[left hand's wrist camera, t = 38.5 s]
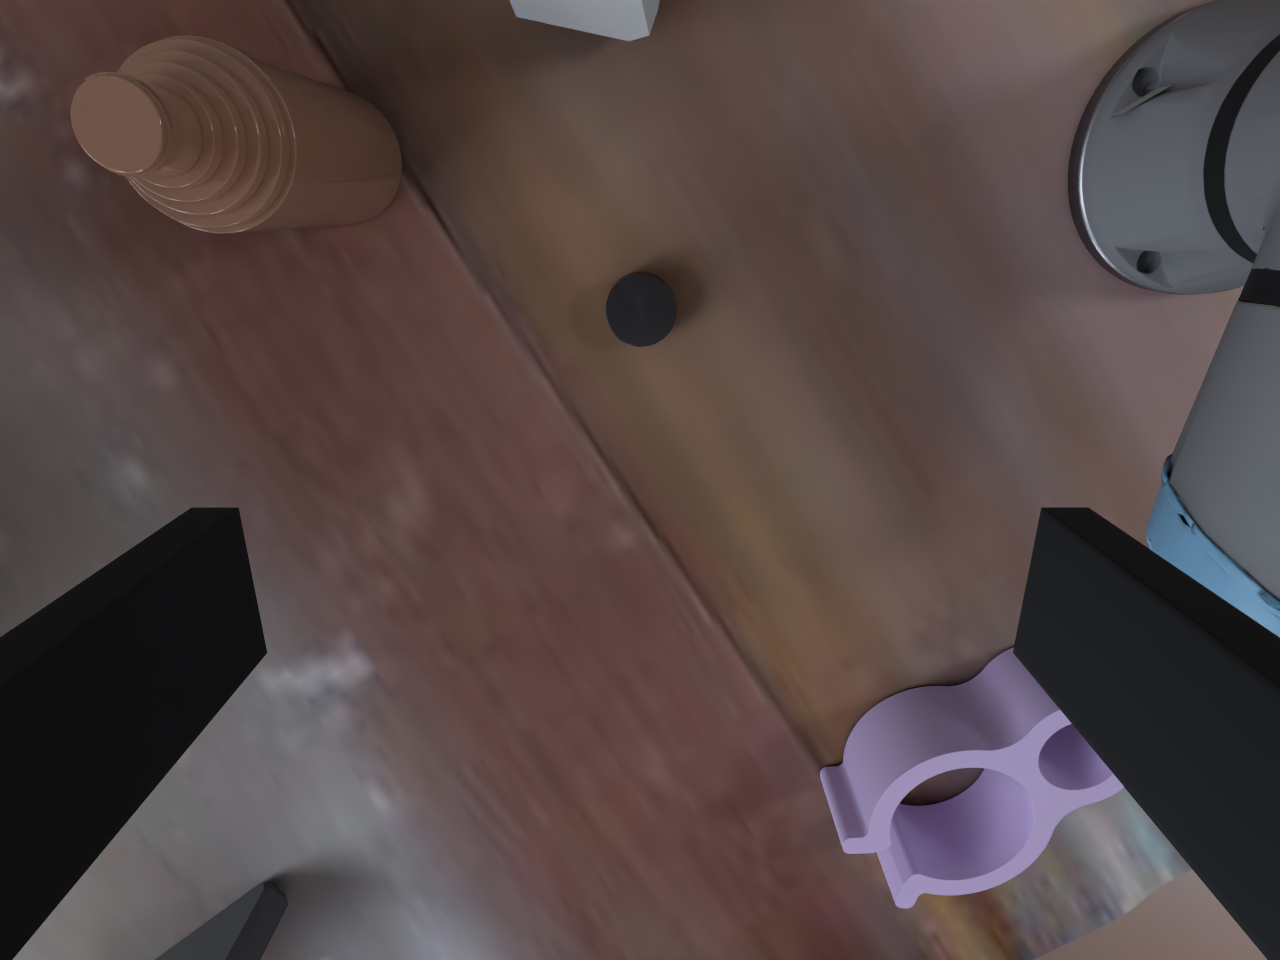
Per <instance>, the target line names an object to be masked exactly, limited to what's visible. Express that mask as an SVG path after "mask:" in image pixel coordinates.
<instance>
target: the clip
mask: <svg viewBox="0 0 1280 960" xmlns="http://www.w3.org/2000/svg"><path fill="white" fill-rule="evenodd" d="M1013 650H1014V647H1013V648H1011V649H1009V650H1007V651H1005V652H1003V653H1001V654H1000V655H998V656H997V657H996V658H994V659H993V660H992V661H991V662H990V663H989V664H988V665H987V666H986V667H985V668H984V669H983V670H982V672H981V673H979V674H978V675H977V676H976V677H975V678H973V679H971V680H970V681H968V682H966V683H963V684H960V685H956V686H926V687H919V688H914V689H910V690H906V691H903V692H900V693H898V694H895V695H893V696H891V697H889V698H887V699H885V700H883V701H882V702H880V703H879V704H877V705H876V706H874V707H873V708H872V709H870V710H869V711H868V712H867V713H866V714H865V715H864V716H863V717H862V718H861V719H860V720H859V722H858V723H857V724H856V726H855V727H854V728H853V730H852V732H851V734H850V736H849V738H848V740H847V743H846V746H845V750H844V756H843V763H842V764H841V765H839V766H832V767H824V768H823V769H822V770H821V771H820V778H821V781H822V784H823V787H824V791H825V794H826V797H827V800H828V803H829V806H830V810H831V813H832V816H833V819H834V822H835V826H836V829H837V832H838V835H839V838H840V841H841V845H842V848H843V851H844V852H845V853H848V854H858V853H875V852H877V854H878V857H879V860H880V863H881V865H882V868H883V871H884V874H885V876H886V879H887V882H888V885H889V887H890V890H891V893H892V896H893V898H894V901H895V904H896V906H898V907H900V908H910V907H912V906H913V905H914V904H915V902H916V899H917V897H918V896H919V895H920V894H923V893H929V894H936V895H963V894H970V893H975V892H979V891H983V890H986V889H989V888H992V887H995V886H997V885H1000V884H1002V883H1004V882H1006V881H1008V880H1010V879H1012V878H1013V877H1015V876H1016V875H1018V874H1019V873H1021V872H1022V871H1023V870H1025V869H1026V868H1027V867H1028V866H1029V865H1031V864H1032V863H1033V862H1034V861H1035V860H1036V859H1037V857H1038V856H1039V855H1040V854H1041V853H1042V851H1043V850H1044V848H1045V847H1046V845H1047V844H1048V842H1049V840H1050V838H1051V835H1052V833H1053V830H1054V828H1055V827H1056V825H1057V824H1058V822H1059V821H1060V820H1061V819H1062V818H1063V817H1064V816H1065V815H1067V814H1068V813H1070V812H1071V811H1073V810H1075V809H1077V808H1079V807H1082V806H1085V805H1088V804H1092V803H1096V802H1099V801H1101V800H1104V799H1106V798H1108V797H1110V796H1112V795H1114V794H1115V793H1117V792H1118V791H1120V790H1121V789H1123V788H1124V786H1123V785H1122V784H1121V782H1120V781H1119V780H1118V779H1117V778H1116V776H1115V775H1114V774H1113V773H1112V772H1111V770H1110V769H1109V768H1108V767H1107V766H1106V764H1105V763H1104V762H1103V761H1102V760H1101V758H1100V757H1099V756H1098V755H1097V753H1096V752H1095V751H1094V750H1093V749H1092V747H1091V746H1090V745H1089V744H1088V743H1087V741H1086V740H1085V739H1084V738H1083V737H1082V735H1081V734H1080V733H1079V732H1078V731H1077V729H1076V728H1075V727H1074V726H1073V725H1072V723H1071V722H1070V721H1069V720H1068V719H1067V717H1066V716H1065V715H1064V714H1063V713H1062V711H1061V710H1060V709H1059V708H1058V707H1057V705H1056V704H1055V703H1054V702H1053V700H1052V699H1051V698H1050V697H1049V696H1048V694H1047V693H1046V692H1045V691H1044V690H1043V688H1042V687H1041V686H1040V685H1039V684H1038V682H1037V681H1036V680H1035V679H1034V678H1033V676H1032V675H1031V674H1030V673H1029V672H1028V670H1027V669H1026V668H1025V667H1024V666H1023V664H1022V663H1021V662H1020V661H1019V660H1018V658H1017V657H1016V656H1015V655H1014V654H1013ZM960 768H985V769H984V771H983V772H982V774H981V775H980V777H979V778H978V779H977V780H976V782H975V783H974V784H973V785H971V786H970V787H969V788H968V789H967V790H965V791H964V792H962V793H961V794H959V795H957V796H956V797H954V798H951V799H949V800H947V801H944V802H941V803H937V804H932V805H925V806H910V805H903V804H899V803H900V802H901V800H902V799H903V798H904V797H905V796H906V795H907V794H908V793H909V792H910V791H911V790H912V789H913V788H914V787H916V786H917V785H919V784H920V783H922V782H923V781H925V780H927V779H929V778H930V777H933V776H935V775H937V774H940V773H943V772H946V771H950V770H954V769H960Z"/></svg>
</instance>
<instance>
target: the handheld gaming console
mask: <svg viewBox="0 0 1280 960" xmlns="http://www.w3.org/2000/svg"><path fill="white" fill-rule="evenodd" d="M287 905H288V902H287V898H286V895H285V893H284V892H282V891H281V890H280V889H279V888H277V887H276V886H275V885H273V884H272V883H271V882H269V883H262V884H261V885H259V886H258V887H256V888H254V889H253V890H251V891H250V892H248V893H247V894H246V895H244V896H243V897H242V898H240V899H239V900H237V901H236V902H235V903H233V904H232V905H231V906H229V907H228V908H226V909H225V910H224V911H222V912H221V913H220V914H218V915H217V916H215V917H214V918H213V919H211V920H210V921H209V922H207V923H206V924H204V925H203V926H202V927H200V928H199V929H198V930H196V931H195V932H193V933H192V934H191V935H189V936H188V937H187V938H185V939H184V940H182V941H181V942H180V943H178V944H177V945H175V946H174V947H173V948H171V949H170V950H169V951H167V952H166V953H164V954H163V955H162V956H160V957H159V958H158V959H156V960H260V959H261V957H262V955H263V953H264V951H265V949H266V947H267V945H268V943H269V941H270V939H271V937H272V935H273V933H274V931H275V929H276V927H277V925H278V923H279V921H280V919H281V917H282V915H283V913H284V911H285V909H286V907H287Z"/></svg>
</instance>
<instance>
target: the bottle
mask: <svg viewBox="0 0 1280 960" xmlns="http://www.w3.org/2000/svg"><path fill="white" fill-rule="evenodd" d="M84 80H85V82H84V83H82V84H81V85H80V86H79V88H78V89H77V90H76V92H75V94H74V96H73V99H72V103H71V110H70V115H71V123H72V127H73V131H74V133H75V136H76V138H77V140H78V142H79V144H80V145H81V147H82V148H83V149H84V151H85V152H86V153H87V154H88V155H89V156H90V157H91V158H92V159H93V160H94V161H95V162H97V163H98V164H99V165H101V166H103V167H104V168H106V169H107V170H108V171H111V172H113V173H116V174H118V175H120V176H125V177H126V178H127V180H128V181H129V183H130V184H131V185H132V186H133V187H134V189H135V190H136V191H137V192H138V193H139V194H140V195H141V196H142V197H143V198H144V199H145V200H146V201H147V202H148V203H149V204H151V205H152V206H153V207H155V208H156V209H157V210H159V211H160V212H162V213H163V214H165V215H167V216H168V217H170V218H172V219H174V220H175V221H177V222H179V223H181V224H183V225H185V226H187V227H190V228H193V229H196V230H199V231H204V232H209V233H219V234H226V233H241V232H255V231H269V230H283V229H296V228H310V227H324V226H338V225H352V224H359V223H363V222H366V221H369V220H371V219H373V218H375V217H376V216H378V215H379V214H380V213H382V212H383V211H384V210H385V209H386V208H387V207H388V206H389V204H390V203H391V202H392V200H393V199H394V197H395V195H396V193H397V191H398V188H399V185H400V181H401V176H402V156H401V150H400V146H399V143H398V140H397V137H396V135H395V132H394V130H393V129H392V127H391V125H390V123H389V122H388V121H387V119H386V118H385V116H384V115H383V114H382V113H381V112H380V111H379V110H378V109H377V108H376V107H375V106H374V105H373V104H372V103H370V102H369V101H367V100H366V99H364V98H363V97H361V96H359V95H357V94H355V93H352V92H350V91H347V90H344V89H342V88H339V87H337V86H334V85H331V84H329V83H326V82H324V81H321V80H319V79H316V78H313V77H311V76H308V75H306V74H303V73H300V72H298V71H295V70H293V69H290V68H287V67H285V66H282V65H280V64H277V63H275V62H272V61H269V60H267V59H264V58H262V57H259V56H256V55H254V54H251V53H249V52H246V51H243V50H241V49H238V48H236V47H233V46H231V45H228V44H225V43H223V42H220V41H217V40H214V39H211V38H207V37H202V36H195V35H179V36H172V37H168V38H163V39H161V40H159V41H155V42H152V43H150V44H148V45H145V46H143V47H142V48H140V49H138V50H137V51H135V52H134V53H133V54H132V55H131V56H129V57H128V58H127V59H126V60H125V61H124V63H123V64H122V65H121V66H120V68H119V69H118V71H117V73H114V72H107V71H106V72H100V73H94V74H92V75H90V76H88V77H86V78H84Z"/></svg>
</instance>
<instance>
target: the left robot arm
mask: <svg viewBox="0 0 1280 960" xmlns="http://www.w3.org/2000/svg"><path fill="white" fill-rule="evenodd" d="M1068 194H1069V203H1070V208H1071V213H1072V217H1073V220H1074V223H1075V226H1076V229H1077V231H1078V233H1079V236H1080V238H1081V240H1082V241H1083V243H1084V245H1085V246H1086V248H1087V250H1088V251H1089V252H1090V254H1091V255H1092V256H1093V257H1094V259H1095V260H1096V261H1097V262H1098V263H1099V264H1100V265H1101V266H1102V267H1103V268H1105V269H1106V270H1107V271H1108V272H1110V273H1111V274H1112V275H1114V276H1116V277H1117V278H1119V279H1121V280H1123V281H1125V282H1127V283H1129V284H1131V285H1134V286H1137V287H1140V288H1143V289H1148V290H1153V291H1158V292H1164V293H1171V294H1204V293H1215V292H1221V291H1226V290H1231V289H1234V288H1238V287H1242V286H1244V288H1243V290H1242V293H1241V295H1240V298H1239V299H1238V300H1239V301H1237V303H1236V305H1235V307H1234V310H1233V312H1232V314H1231V317H1230V319H1229V322H1228V324H1227V326H1226V329H1225V331H1224V333H1223V336H1222V338H1221V340H1220V343H1219V345H1218V348H1217V350H1216V352H1215V355H1214V357H1213V359H1212V362H1211V364H1210V367H1209V369H1208V371H1207V374H1206V376H1205V378H1204V381H1203V383H1202V385H1201V388H1200V390H1199V393H1198V395H1197V397H1196V400H1195V402H1194V404H1193V407H1192V409H1191V411H1190V414H1189V416H1188V419H1187V421H1186V423H1185V426H1184V428H1183V430H1182V433H1181V435H1180V438H1179V440H1178V442H1177V445H1176V447H1175V449H1174V452H1173V454H1171V455H1169V456H1168V457H1167V458H1166V461H1165V463H1164V465H1163V467H1162V472H1161V478H1162V485H1161V488H1160V491H1159V494H1158V496H1157V499H1156V502H1155V505H1154V508H1153V510H1152V513H1151V516H1150V519H1149V521H1148V525H1147V543H1148V546H1149V548H1150V549H1149V548H1147V547H1146V546H1144V545H1143V544H1141V543H1140V542H1138V541H1137V540H1135V539H1134V538H1132V537H1131V536H1129V535H1128V534H1126V533H1125V532H1124V531H1122V530H1121V529H1119V528H1118V527H1116V526H1115V525H1113V524H1112V523H1110V522H1109V521H1107V520H1106V519H1104V518H1103V517H1101V516H1100V515H1098V514H1097V513H1096V512H1094V511H1093V510H1091V509H1090V508H1041V513H1040V518H1039V523H1038V528H1037V533H1036V538H1035V543H1034V548H1033V553H1032V558H1031V564H1030V569H1029V574H1028V579H1027V584H1026V589H1025V594H1024V599H1023V604H1022V609H1021V614H1020V619H1019V625H1018V630H1017V635H1016V640H1015V645H1014V650H1013V654H1014V655H1015V656H1016V657H1017V658H1018V660H1019V661H1020V662H1021V663H1022V664H1023V666H1024V667H1025V668H1026V669H1027V670H1028V672H1029V673H1030V674H1031V675H1032V676H1033V678H1034V679H1035V680H1036V681H1037V682H1038V684H1039V685H1040V686H1041V687H1042V688H1043V690H1044V691H1045V692H1046V693H1047V694H1048V696H1049V697H1050V698H1051V699H1052V700H1053V702H1054V703H1055V704H1056V705H1057V707H1058V708H1059V709H1060V710H1061V711H1062V713H1063V714H1064V715H1065V716H1066V717H1067V719H1068V720H1069V721H1070V722H1071V723H1072V725H1073V726H1074V727H1075V728H1076V729H1077V731H1078V732H1079V733H1080V734H1081V735H1082V737H1083V738H1084V739H1085V740H1086V741H1087V743H1088V744H1089V745H1090V746H1091V747H1092V749H1093V750H1094V751H1095V752H1096V753H1097V755H1098V756H1099V757H1100V758H1101V760H1102V761H1103V762H1104V763H1105V764H1106V766H1107V767H1108V768H1109V769H1110V770H1111V772H1112V773H1113V774H1114V775H1115V776H1116V778H1117V779H1118V780H1119V781H1120V782H1121V784H1122V785H1123V786H1124V787H1125V788H1126V790H1127V791H1128V792H1129V793H1130V794H1131V796H1132V797H1133V798H1134V799H1135V800H1136V802H1137V803H1138V804H1139V805H1140V806H1141V808H1142V809H1143V810H1144V811H1145V812H1146V814H1147V815H1148V816H1149V817H1150V819H1151V820H1152V821H1153V822H1154V823H1155V825H1156V826H1157V827H1158V828H1159V829H1160V831H1161V832H1162V833H1163V834H1164V835H1165V837H1166V838H1167V839H1168V840H1169V841H1170V843H1171V844H1172V845H1173V846H1174V847H1175V849H1176V850H1177V851H1178V852H1179V853H1180V855H1181V856H1182V857H1183V858H1184V859H1185V861H1186V862H1187V863H1188V864H1189V865H1190V867H1191V868H1192V869H1193V870H1194V872H1195V873H1196V874H1197V875H1198V876H1199V878H1200V879H1201V880H1202V881H1203V882H1204V884H1205V885H1206V886H1207V887H1208V888H1209V890H1210V891H1211V892H1212V893H1213V894H1214V896H1215V897H1216V898H1217V899H1218V900H1219V902H1220V903H1221V904H1222V905H1223V906H1224V908H1225V909H1226V910H1227V911H1228V912H1229V914H1230V915H1231V916H1232V917H1233V918H1234V920H1235V921H1236V922H1237V923H1238V925H1239V926H1240V927H1241V928H1242V929H1243V931H1244V932H1245V933H1246V934H1247V935H1248V937H1249V938H1250V939H1251V940H1252V941H1253V943H1254V944H1255V945H1256V946H1257V947H1258V948H1259V950H1260V951H1261V952H1262V953H1263V955H1264V956H1265V957H1266V958H1267V959H1268V960H1280V308H1278V307H1280V0H1216V1H1213V2H1210V3H1207V4H1204V5H1201V6H1199V7H1196V8H1193V9H1190V10H1188V11H1186V12H1183V13H1181V14H1179V15H1176V16H1175V17H1173V18H1171V19H1169V20H1167V21H1165V22H1164V23H1162V24H1160V25H1159V26H1157V27H1156V28H1154V29H1153V30H1151V31H1150V32H1148V33H1147V34H1146V35H1145V36H1143V37H1142V38H1141V39H1140V40H1138V41H1137V42H1136V43H1135V44H1134V45H1133V46H1132V47H1131V48H1130V49H1128V50H1127V51H1126V52H1125V53H1124V54H1123V55H1122V56H1121V58H1120V59H1119V60H1118V61H1117V62H1116V63H1115V64H1114V65H1113V67H1112V68H1111V69H1110V70H1109V72H1108V73H1107V74H1106V76H1105V77H1104V78H1103V80H1102V81H1101V83H1100V84H1099V86H1098V87H1097V89H1096V90H1095V92H1094V94H1093V95H1092V97H1091V99H1090V101H1089V103H1088V104H1087V107H1086V109H1085V111H1084V113H1083V115H1082V118H1081V120H1080V123H1079V126H1078V128H1077V131H1076V134H1075V138H1074V141H1073V145H1072V149H1071V155H1070V161H1069V171H1068ZM1247 302H1248V303H1247ZM1253 303H1256V304H1253ZM1259 304H1263V305H1259ZM1266 305H1271V306H1266ZM1272 306H1277V307H1272ZM266 654H267V650H266V645H265V640H264V635H263V630H262V625H261V619H260V614H259V609H258V604H257V599H256V594H255V589H254V584H253V579H252V574H251V569H250V564H249V558H248V553H247V548H246V543H245V538H244V533H243V528H242V523H241V518H240V513H239V508H190V509H189V510H187V511H186V512H184V513H183V514H182V515H180V516H179V517H177V518H176V519H174V520H173V521H171V522H170V523H168V524H167V525H165V526H164V527H162V528H161V529H159V530H158V531H156V532H155V533H154V534H152V535H151V536H149V537H148V538H146V539H145V540H143V541H142V542H140V543H139V544H137V545H136V546H134V547H133V548H131V549H130V550H128V551H127V552H125V553H124V554H123V555H121V556H120V557H118V558H117V559H115V560H114V561H112V562H111V563H109V564H108V565H106V566H105V567H103V568H102V569H100V570H99V571H97V572H96V573H95V574H93V575H92V576H90V577H89V578H87V579H86V580H84V581H83V582H81V583H80V584H78V585H77V586H75V587H74V588H72V589H71V590H69V591H68V592H66V593H65V594H64V595H62V596H61V597H59V598H58V599H56V600H55V601H53V602H52V603H50V604H49V605H47V606H46V607H44V608H43V609H41V610H40V611H38V612H37V613H36V614H34V615H33V616H31V617H30V618H28V619H27V620H25V621H24V622H22V623H21V624H19V625H18V626H16V627H15V628H13V629H12V630H10V631H9V632H7V633H6V634H5V635H3V636H2V637H0V960H12V959H13V958H14V957H15V956H16V955H17V953H18V952H19V951H20V950H21V949H22V947H23V946H24V945H25V944H26V943H27V941H28V940H29V939H30V938H31V937H32V935H33V934H34V933H35V932H36V931H37V929H38V928H39V927H40V926H41V925H42V923H43V922H44V921H45V920H46V918H47V917H48V916H49V915H50V914H51V912H52V911H53V910H54V909H55V908H56V906H57V905H58V904H59V903H60V902H61V900H62V899H63V898H64V897H65V896H66V894H67V893H68V892H69V891H70V890H71V888H72V887H73V886H74V885H75V884H76V882H77V881H78V880H79V879H80V878H81V876H82V875H83V874H84V873H85V872H86V870H87V869H88V868H89V867H90V865H91V864H92V863H93V862H94V861H95V859H96V858H97V857H98V856H99V855H100V853H101V852H102V851H103V850H104V849H105V847H106V846H107V845H108V844H109V843H110V841H111V840H112V839H113V838H114V837H115V835H116V834H117V833H118V832H119V831H120V829H121V828H122V827H123V826H124V825H125V823H126V822H127V821H128V820H129V819H130V817H131V816H132V815H133V814H134V812H135V811H136V810H137V809H138V808H139V806H140V805H141V804H142V803H143V802H144V800H145V799H146V798H147V797H148V796H149V794H150V793H151V792H152V791H153V790H154V788H155V787H156V786H157V785H158V784H159V782H160V781H161V780H162V779H163V778H164V776H165V775H166V774H167V773H168V772H169V770H170V769H171V768H172V767H173V766H174V764H175V763H176V762H177V761H178V760H179V758H180V757H181V756H182V755H183V753H184V752H185V751H186V750H187V749H188V747H189V746H190V745H191V744H192V743H193V741H194V740H195V739H196V738H197V737H198V735H199V734H200V733H201V732H202V731H203V729H204V728H205V727H206V726H207V725H208V723H209V722H210V721H211V720H212V719H213V717H214V716H215V715H216V714H217V713H218V711H219V710H220V709H221V708H222V707H223V705H224V704H225V703H226V702H227V700H228V699H229V698H230V697H231V696H232V694H233V693H234V692H235V691H236V690H237V688H238V687H239V686H240V685H241V684H242V682H243V681H244V680H245V679H246V678H247V676H248V675H249V674H250V673H251V672H252V670H253V669H254V668H255V667H256V666H257V664H258V663H259V662H260V661H261V660H262V658H263V657H264V656H265V655H266Z"/></svg>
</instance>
